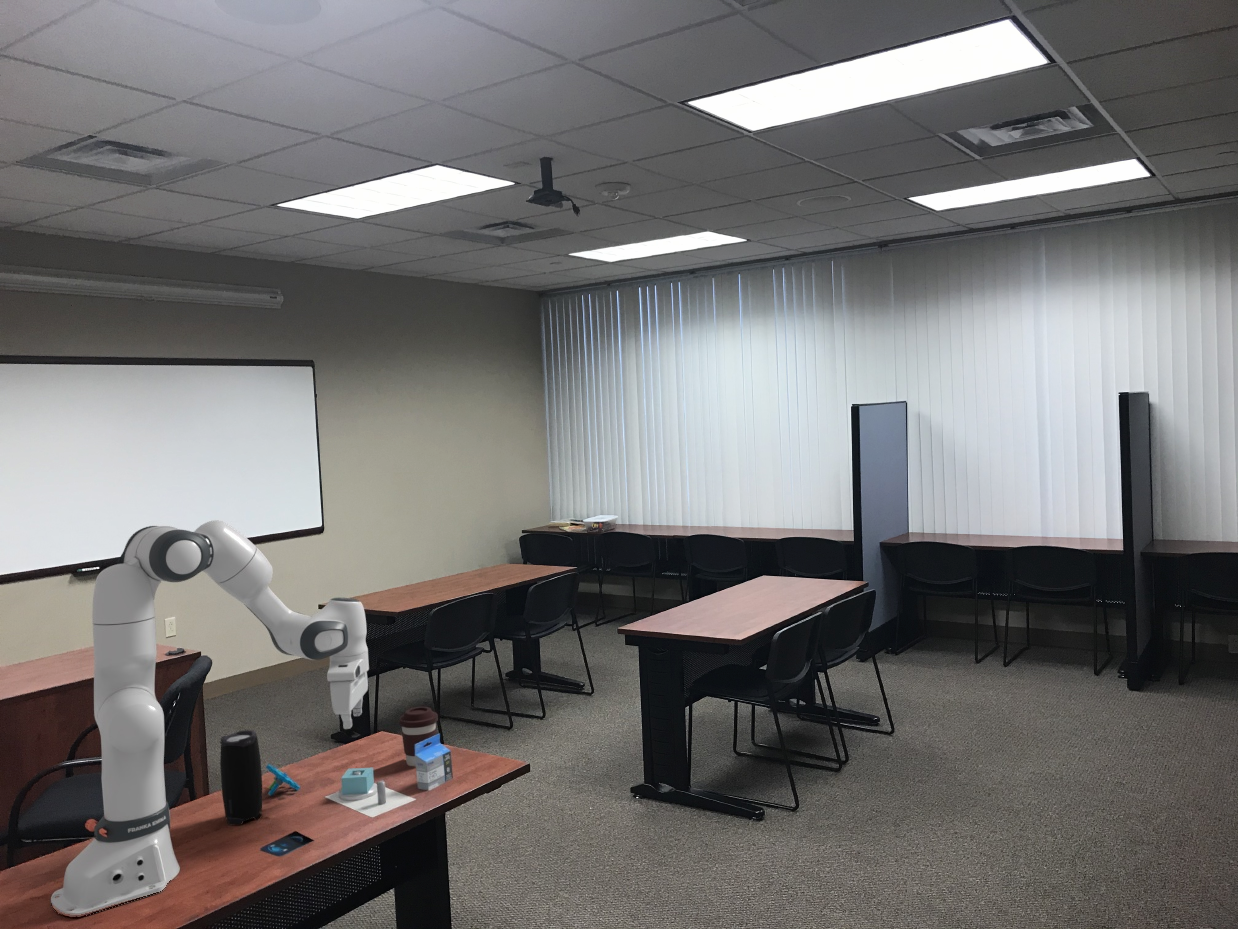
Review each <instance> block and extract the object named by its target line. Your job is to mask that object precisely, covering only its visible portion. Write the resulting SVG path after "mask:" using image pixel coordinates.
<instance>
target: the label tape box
mask: <svg viewBox="0 0 1238 929" xmlns="http://www.w3.org/2000/svg"><path fill="white" fill-rule="evenodd" d="M440 739H441V733H438V734H436V735H435V736H433V737H431V738H428V739H426V740H424V741H422V742H419V743H417V744H415V762H416V766H415V772H416V783H417V789H419V790H422V791H423V790H424V791H428V792H429V791H432V790H433V789H435V788H437V787H439V786H441V785H443V784H445V783H447V782H449V781H450V780H452V779H454V776H453V775H454V774H453V762H452V751H451V749H449V748H447V747H446V746H445V745H443V744H442V743H441V742H440V741H441V740H440ZM427 742H428V743H430V742H432V743H431V744H430V745H428V746H426V747H423V746H424V745H425V744H427Z"/></svg>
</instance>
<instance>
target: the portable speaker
mask: <svg viewBox="0 0 1238 929" xmlns="http://www.w3.org/2000/svg"><path fill="white" fill-rule="evenodd" d="M258 739H259V738H258V734H257V733H256V732H255V731H254V730H252V729H244V730H243V729H242V730H239V731H237V732H235V733H231V734H228V735H223V736H221V737H220V741H219V743H220V758H219V760H220V763H219V765H220V767H219V768H220V779H221V781H220V782H221V794H222V802H223V809H224V814H225V818H226V822H227V824H228V825H231V826H241V825H242V824H243V823H244V822H246V821H249V820H251V819H255V820H260V819H261V817H262V816H263V813H261V812H263V776H262V762H261V761H262V760H261V753H260V752H261V751H260V746H259V745H260V744H259V741H258Z"/></svg>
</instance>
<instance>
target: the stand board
mask: <svg viewBox="0 0 1238 929" xmlns="http://www.w3.org/2000/svg"><path fill="white" fill-rule="evenodd" d="M353 775H361V772H360V771H357V772H354V773H353ZM325 798H326V799H328V800H330V801H334V802H335V803H337V804H339V805H343V806H344V807H346V808H349V809H352V810H354V811H356V812H358V813H361V814H363V815H366V816H367V817H370V818H374V817H377V816H379V815H382V814H385V813H387V812H389V811H391V810H392V811H393V810H395V809H396V808H400V807H402V806H404V805H407V804H408V803H412V802H414V801H416V800H417V798H415V797H412V796H408V795H406V794H404V793H402V792H401V793H400V792H398V791H396V790H393V789H391V788H388V787H386V782H385V780H378V781H376V782H374V784H373V786H372V787H371V789H370V790H369V792H368V793H367V794H349V795H342V787H341V788H340V789H339V790H338V791H336V792H334V793H331V794H328V795H326V796H325Z"/></svg>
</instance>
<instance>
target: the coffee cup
mask: <svg viewBox="0 0 1238 929" xmlns="http://www.w3.org/2000/svg"><path fill="white" fill-rule="evenodd" d="M438 721H439V715H438V713H437V712H436V711H433V710H432V708H431V707H428V706H415V707H411V708H408V709H406V710H405V711H404V714H402V715H401V716H400V717H399V718H398V725H399V726H400V727H401V729H402V731H401V736H402V745H403V751H404V753H403V754H405V761H406V765H408V766H409V767H416V762H415V744H417V743H419V742H422V741H424V740H426V739H428V738H431V737H433V736H435V735H437V722H438ZM431 743H432V742H430V743H428V742H427V744H425V745H424V746H423V747H426V746H428V745H430V744H431Z"/></svg>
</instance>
